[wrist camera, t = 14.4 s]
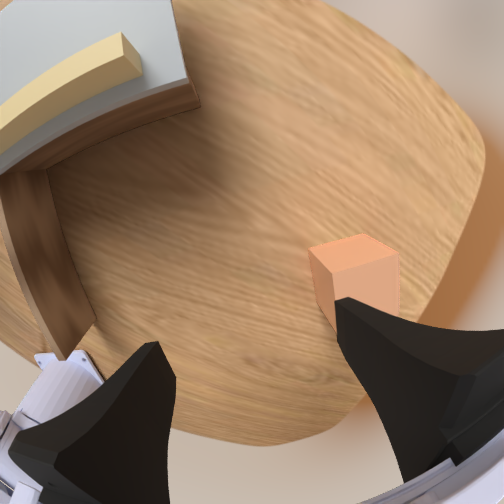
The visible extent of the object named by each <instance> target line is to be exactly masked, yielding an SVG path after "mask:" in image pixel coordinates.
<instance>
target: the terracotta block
mask: <svg viewBox="0 0 504 504" xmlns="http://www.w3.org/2000/svg"><path fill="white" fill-rule="evenodd" d="M308 252H309V258H310V264H311V269H312V275H313V281H314V287H315V294H316V300H317V303H318V305H319V306H320V308H321V310H322V311H323V313H324V314H325V316H326V317H327V319H328V321H329V322H330V324H331V325H332V327H333V329H334V330H335V332H336V333H337V329H336V316H335V305H334V301H335V300H339V299H342V298H345V297H350V298H353V299H356V300H358V301H360V302H362V303H365V304H367V305H369V306H372V307H374V308H376V309H378V310H381V311H383V312H386V313H388V314H391V315H394V316H398V315H399V303H400V267H399V253H398V252H397V251H395V250H393V249H391V248H389V247H388V246H386V245H384V244H382V243H380V242H379V241H377V240H375V239H373V238H371V237H369V236H367V235H366V234H364V233H362V234H359V235H355V236H351V237H348V238H344V239H340V240H337V241H333V242H329V243H325V244H322V245H318V246H314V247H310V248H308Z"/></svg>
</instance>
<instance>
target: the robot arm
mask: <svg viewBox="0 0 504 504" xmlns="http://www.w3.org/2000/svg"><path fill="white" fill-rule="evenodd" d="M334 305H335V316H336V329H337V342H338V344H339V346H340V348H341V350H342V353H343V355H344V357H345V359H346V361H347V362H348V364H349V366H350V367H351V369H352V370H353V372H354V373H355V375H356V377H357V378H358V380H359V381H360V383H361V384H362V386H363V387H364V389H365V391H366V392H367V394H368V395H369V397H370V398H371V400H372V402H373V404H374V406H375V408H376V410H377V412H378V414H379V417H380V419H381V421H382V423H383V425H384V428H385V430H386V433H387V435H388V437H389V440H390V442H391V445H392V448H393V451H394V453H395V456H396V459H397V462H398V465H399V468H400V471H401V475H402V478H403V481H404V484H403V485H400V486H398V487H396V488H394V489H392V490H390V491H388V492H385V493H383V494H381V495H378V496H376V497H373V498H371V499H369V500H366V501H363V502H361V503H358V504H497V503H498V502H499V501H500V500H501V499H502V498H503V497H504V329H501V330H489V331H462V330H451V329H443V328H437V327H432V326H427V325H423V324H419V323H415V322H411V321H408V320H405V319H402V318H399V317H396V316H394V315H391V314H388V313H386V312H383V311H381V310H378V309H376V308H374V307H372V306H369V305H367V304H365V303H362V302H360V301H358V300H356V299H353V298H350V297H345V298H342V299H339V300H335V301H334ZM34 358H35V360H36V361H37V363H38V365H39V366H40V368H41V369H42V372H41V374H40V375H39V377H38V378H37V379H36V381H35V382H34V383H33V385H32V386H31V388H30V389H29V391H28V392H27V394H26V395H25V397H24V398H23V400H22V401H21V403H20V404H19V406H18V408H17V409H16V411H15V412H14V413H13V414H12V415H10V414H9V413H8V412H7V411H6V410H5V411H0V480H2V481H3V482H4V483H5V484H7V485H8V486H9V487H11V488H12V489H13V490H14V491H12V490H11V489H10V488H8V487H7V486H6V485H4V484H3V483H2V482H1V481H0V504H170V498H169V490H168V470H167V457H168V454H167V453H168V440H169V434H170V428H171V422H172V416H173V410H174V404H175V398H176V376H175V374H174V372H173V370H172V368H171V366H170V364H169V362H168V360H167V358H166V356H165V354H164V352H163V350H162V348H161V346H160V344H159V342H158V341H155V342H149V343H145V344H144V345H142V346H141V347H140V348H139V349H138V350H137V351H136V352H135V353H134V354H133V355H132V356H131V357H130V358H129V359H128V360H127V361H126V362H125V363H124V364H123V365H122V366H121V367H120V368H119V369H118V370H117V371H116V372H115V373H114V374H113V375H112V376H111V377H110V378H109V379H108V380H106V381H105V382H104V380H103V379H102V377H101V376H100V374H99V372H98V371H97V369H96V368H95V366H94V365H93V363H92V361H91V360H90V358H89V356H88V355H87V353H86V352H85V351H84V350H74V351H73V352H72V353H71V355H70V356H69V357H68V359H67V360H66V361H58V359H57V357H56V356H55V354H54V352H53V353H40V354H36V355H35V356H34ZM85 359H86V360H85Z"/></svg>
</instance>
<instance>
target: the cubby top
mask: <svg viewBox="0 0 504 504" xmlns="http://www.w3.org/2000/svg"><path fill="white" fill-rule="evenodd" d="M188 83H189V80H188V76H187V71H186V67H185V62H184V58H183V53H182V48H181V44H180V39H179V34H178V30H177V25H176V20H175V15H174V10H173V5H172V0H14V1H12V2H11V3H10V4H9V5H7V6H6V7H5V8H4V9H3V10H2V11H1V12H0V175H1V174H2V173H4V172H5V171H6V170H8V169H9V168H10V167H12V166H13V165H15V164H16V163H17V162H19V161H20V160H22V159H23V158H25V157H26V156H28V155H29V154H31V153H32V152H34V151H36V150H37V149H39V148H40V147H42V146H44V145H45V144H47V143H49V142H50V141H52V140H54V139H55V138H57V137H59V136H61V135H62V134H64V133H66V132H68V131H70V130H72V129H74V128H76V127H77V126H79V125H81V124H83V123H85V122H87V121H89V120H92V119H94V118H96V117H98V116H100V115H102V114H105V113H107V112H109V111H111V110H114V109H116V108H118V107H121V106H123V105H126V104H128V103H131V102H133V101H136V100H139V99H141V98H144V97H147V96H150V95H152V94H155V93H158V92H161V91H164V90H168V89H171V88H174V87H177V86H181V85H184V84H188Z"/></svg>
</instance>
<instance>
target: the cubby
mask: <svg viewBox="0 0 504 504" xmlns="http://www.w3.org/2000/svg"><path fill="white" fill-rule="evenodd" d="M185 67H186V66H185ZM186 71H187V76H188V80H189V83H188V84H184V85H181V86H177V87H174V88H171V89H168V90H164V91H161V92H158V93H155V94H152V95H150V96H147V97H144V98H141V99H139V100H136V101H133V102H131V103H128V104H126V105H123V106H121V107H118V108H116V109H114V110H111V111H109V112H107V113H105V114H102V115H100V116H98V117H96V118H94V119H92V120H89V121H87V122H85V123H83V124H81V125H79V126H77V127H76V128H74V129H72V130H70V131H68V132H66V133H64V134H62V135H61V136H59V137H57V138H55V139H54V140H52V141H50V142H49V143H47V144H45V145H44V146H42V147H40V148H39V149H37V150H36V151H34V152H32V153H31V154H29V155H28V156H26V157H25V158H23V159H22V160H20V161H19V162H17V163H16V164H15V165H13V166H12V167H10V168H9V169H8V170H6V171H5V172H4V173H2V174H1V175H0V229H1V232H2V236H3V239H4V242H5V246H6V249H7V252H8V255H9V258H10V261H11V264H12V266H13V269H14V272H15V274H16V277H17V280H18V282H19V285H20V287H21V289H22V292H23V294H24V296H25V299H26V301H27V303H28V305H29V307H30V309H31V312H32V314H33V316H34V318H35V320H36V322H37V324H38V326H39V327H40V329H41V331H42V333H43V335H44V337H45V339H46V340H47V342H48V344H49V346H50V347H51V349H52V351H53V352H54V354H55V356H56V357H57V359H58V361H66V360H67V359H68V357H69V356H70V355H71V353H72V352H73V350H74V349H75V347H76V346H77V345H78V343H79V342H80V340H81V339H82V338H83V336H84V335H85V334H86V332H87V331H88V329H89V328H90V327H91V325H92V324H93V323H94V321H95V320H96V319H97V318H96V316H95V314H94V312H93V310H92V307H91V305H90V303H89V301H88V299H87V296H86V294H85V292H84V289H83V287H82V285H81V282H80V280H79V277H78V275H77V272H76V270H75V267H74V264H73V262H72V259H71V256H70V254H69V251H68V248H67V245H66V242H65V239H64V236H63V233H62V229H61V226H60V223H59V219H58V216H57V212H56V209H55V205H54V201H53V197H52V193H51V189H50V184H49V180H48V175H47V170H46V169H48V168H49V167H51V166H53V165H55V164H57V163H58V162H60V161H62V160H64V159H66V158H68V157H70V156H72V155H74V154H76V153H78V152H80V151H82V150H84V149H86V148H89V147H91V146H93V145H95V144H97V143H100V142H102V141H104V140H106V139H109V138H111V137H113V136H116V135H118V134H121V133H123V132H126V131H128V130H131V129H134V128H136V127H139V126H142V125H145V124H147V123H150V122H153V121H156V120H159V119H162V118H165V117H168V116H171V115H175V114H178V113H181V112H185V111H188V110H192V109H195V108H199V107H201V105H200V101H199V97H198V94H197V92H196V89H195V87H194V85H193V82H192V80H191V77H190V75H189V73H188V70H187V68H186Z"/></svg>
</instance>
